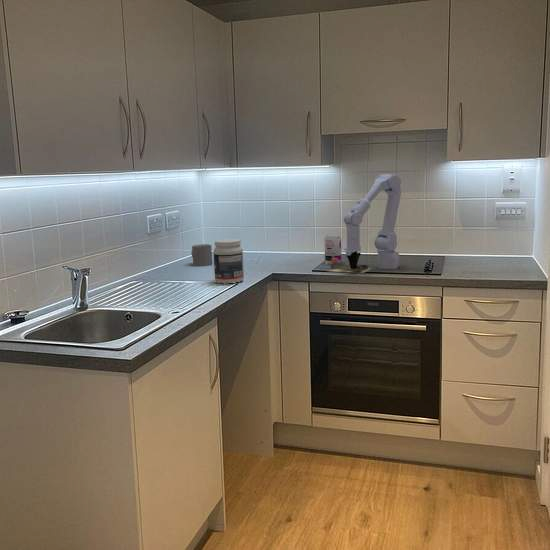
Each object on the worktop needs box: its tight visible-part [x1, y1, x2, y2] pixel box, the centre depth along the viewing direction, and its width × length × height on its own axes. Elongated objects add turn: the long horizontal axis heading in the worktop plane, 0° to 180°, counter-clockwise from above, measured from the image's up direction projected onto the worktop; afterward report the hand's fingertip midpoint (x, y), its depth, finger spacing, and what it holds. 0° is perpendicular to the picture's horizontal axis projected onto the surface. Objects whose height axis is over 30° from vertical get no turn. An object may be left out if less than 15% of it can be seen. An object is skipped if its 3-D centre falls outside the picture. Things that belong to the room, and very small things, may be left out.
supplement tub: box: [212, 238, 245, 284], centre depth 272 cm, size 13×13×18 cm
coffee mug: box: [191, 243, 213, 267], centre depth 323 cm, size 13×10×10 cm
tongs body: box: [330, 262, 369, 270], centre depth 288 cm, size 17×4×2 cm, turn 63°
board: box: [326, 267, 372, 274], centre depth 287 cm, size 18×12×1 cm, turn 63°
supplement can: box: [324, 234, 343, 266], centre depth 305 cm, size 8×8×15 cm
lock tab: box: [332, 258, 338, 263], centre depth 291 cm, size 2×2×2 cm
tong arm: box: [338, 262, 362, 271], centre depth 286 cm, size 14×3×3 cm, turn 43°
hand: (353, 268), depth 280 cm, fingers closed
